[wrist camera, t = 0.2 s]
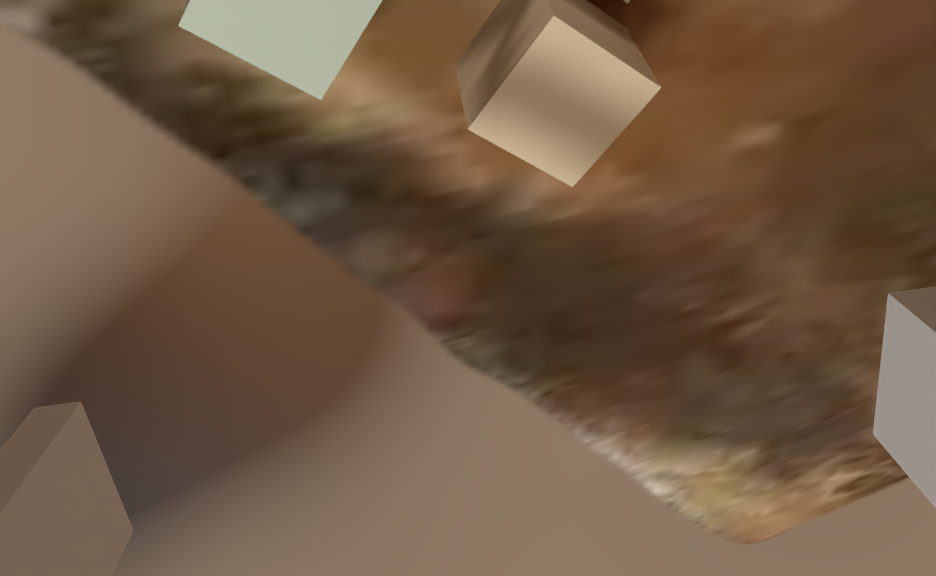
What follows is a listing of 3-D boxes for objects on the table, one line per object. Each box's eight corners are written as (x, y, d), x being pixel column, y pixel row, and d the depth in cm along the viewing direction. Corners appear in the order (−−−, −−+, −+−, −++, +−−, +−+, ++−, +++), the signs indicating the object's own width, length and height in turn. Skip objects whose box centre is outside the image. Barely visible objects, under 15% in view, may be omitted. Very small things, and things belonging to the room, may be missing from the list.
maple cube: (529, -41, 36) (553, 15, 31) (626, 26, 38) (661, 87, 34) (454, 64, 39) (467, 129, 34) (549, 120, 41) (572, 187, 37)
